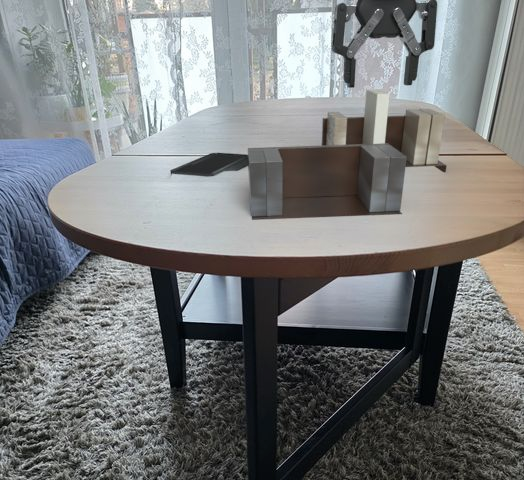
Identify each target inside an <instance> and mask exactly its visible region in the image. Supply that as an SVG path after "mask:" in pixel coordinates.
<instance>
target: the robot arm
mask: <svg viewBox="0 0 524 480" xmlns="http://www.w3.org/2000/svg"><path fill="white" fill-rule="evenodd" d="M416 12H417V13H418V18H419V20H421V32H420V33H421V36H420V42H418V40H417V38H416V35H415V33H414V31H413V29H412V27H411V25H410V24H409V22H410V21H411V20H412V18H413V16H414V15H415V13H416ZM353 14H354V16H355V18H356V20H357V21H358V23H359V25H360V26H359V28H358V29H357V30H356V32H355V33H354V35H353V36H352V39H351V40H350V41H349V43H348V45H347V46H346V45H344V41H345V30H346V23H348V22H350V21H351V17H352V15H353ZM437 14H438V1H437V0H425V1H418V2H417V0H357V1H356V4H346V3H345V2H340V3H338V4H336V5H335V7H334V17H333V19H334V20H333V30H332V41H331V52H332V53H334V54H336V55H340V56H342V58H343V79H342V80H343V83H345V84H346V86H347V88H348V89H349V88H351V89H353V88H355V84H356V68H357V67H356V65H357V58H355V56H356V55H357V53H358V52H359V50H360V49H361V48H362V46H363V45H364V44H365V42H366V41H367V40H368V39H369V38H370V39H373V40H374V39H382V38H386V39H395V38H397V37H398V39H399V41H400V42H401V43H402V44H403V46H404V47H405V50H406V51H407V53H408V55H406V56H405V64H404V75H403V85H404V86H413V82H415V81H416V79H417V78H418V69H419V62H420V56H421V55H422V54H423V53H425V52H427V51H431V50H433V49H434V47H435V43H436V42H435V41H436V27H437Z"/></svg>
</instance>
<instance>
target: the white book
mask: <svg viewBox="0 0 524 480" xmlns="http://www.w3.org/2000/svg"><path fill="white" fill-rule="evenodd" d="M390 94H391V93H388V92H386V91H384V90H380V89H378V88H375V89H373V88H371V89H366V90H365V104H364V115H363V117H364V128H363V141H362V144H382V143H385V136H386V126H387V116H389V105H390V96H391V95H390Z"/></svg>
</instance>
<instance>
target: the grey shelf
mask: <svg viewBox="0 0 524 480" xmlns="http://www.w3.org/2000/svg"><path fill="white" fill-rule="evenodd" d="M247 155H248V165H247V167H248V168H247V169H248V192H249V193H248V196H249V206H250V216H251V220H252V221H260V220H262V221H263V220H288V219H313V218H314V219H315V218H338V217H339V218H340V217H342V218H343V217H364V216H389V215H390V216H391V215H394V216H395V215H403V213H402V212H401V208H402V200H403V199H402V198H403V191H404V183H405V174H406V168H407V167H406V159H407V157H406V156H405V155H404V154H402V153H401V152H399V151H398V150H396V149H395V148H394V147H392V146H391V145H389V144H388V143H382V144H352V145H323V146H322V145H298V146H269V147H268V146H267V147H266V146H265V147H264V146H263V147H248V148H247Z"/></svg>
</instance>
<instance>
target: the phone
mask: <svg viewBox="0 0 524 480" xmlns="http://www.w3.org/2000/svg"><path fill="white" fill-rule="evenodd" d="M246 166H248V153H247V154H245V153H229V152H211V153H208V154H206V155H203V156H201V157H199V158H195V159H194V160H191V161H189V162H187V163H183V164H182V165H179V166H177V167H174V168H172V169H170V171H169V172H170V176H172V175H180V176H181V175H183V176H184V175H185V176H195V177H207V178H209V177H215V176H218V175H221V174H222V173H224V172H237V171H238V170H240V169H242V168H244V167H246Z"/></svg>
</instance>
